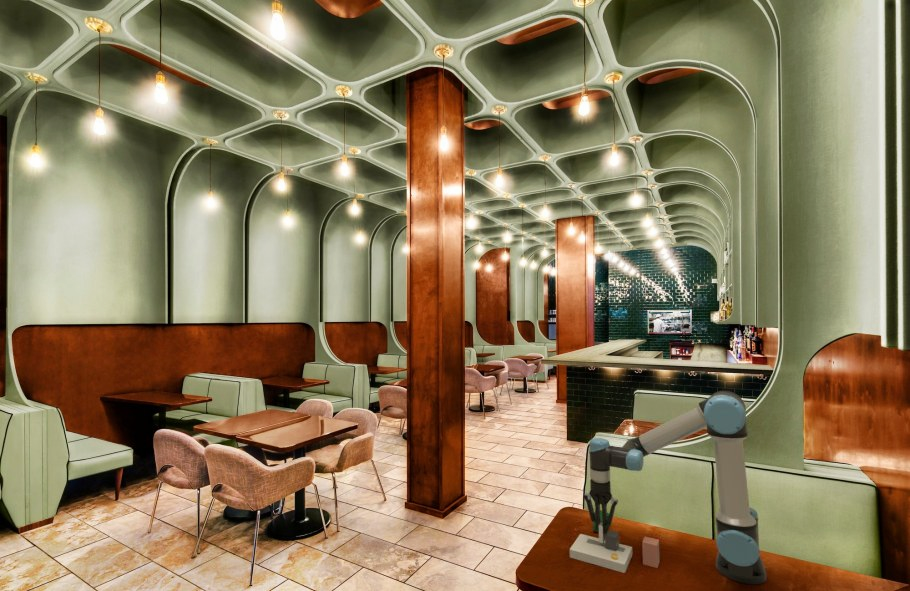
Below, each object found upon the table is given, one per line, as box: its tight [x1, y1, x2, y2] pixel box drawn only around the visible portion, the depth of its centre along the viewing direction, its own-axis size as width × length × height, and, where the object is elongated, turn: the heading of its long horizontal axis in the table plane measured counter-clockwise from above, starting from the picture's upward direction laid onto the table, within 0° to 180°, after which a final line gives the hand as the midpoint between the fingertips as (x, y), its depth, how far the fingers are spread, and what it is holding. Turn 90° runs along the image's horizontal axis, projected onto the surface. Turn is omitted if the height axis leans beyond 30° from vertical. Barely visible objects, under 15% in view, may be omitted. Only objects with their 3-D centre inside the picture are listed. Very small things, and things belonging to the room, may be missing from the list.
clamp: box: [592, 509, 611, 534], centre depth 191 cm, size 12×6×9 cm, turn 158°
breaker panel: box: [569, 533, 633, 574], centre depth 169 cm, size 20×14×4 cm
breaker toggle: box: [605, 529, 620, 551], centre depth 170 cm, size 4×5×5 cm
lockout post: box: [641, 536, 661, 569], centre depth 164 cm, size 5×5×8 cm
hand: (601, 541), depth 172 cm, fingers closed
